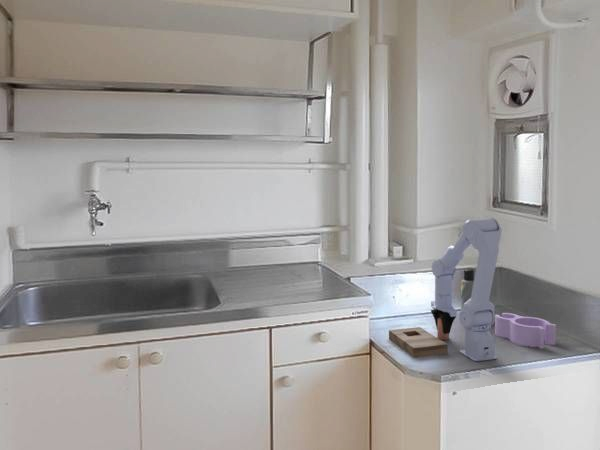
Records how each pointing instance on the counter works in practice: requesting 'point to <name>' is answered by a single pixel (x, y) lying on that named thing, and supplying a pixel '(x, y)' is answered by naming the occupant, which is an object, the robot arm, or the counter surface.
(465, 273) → the lotion bottle
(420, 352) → the board
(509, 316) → the clip
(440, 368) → the counter surface
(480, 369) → the counter surface
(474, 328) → the robot arm
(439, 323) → the pin
